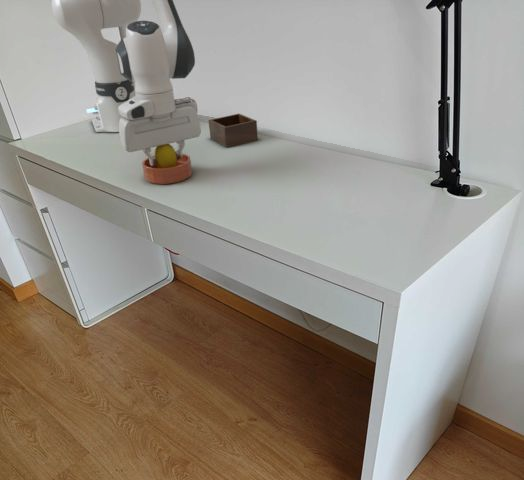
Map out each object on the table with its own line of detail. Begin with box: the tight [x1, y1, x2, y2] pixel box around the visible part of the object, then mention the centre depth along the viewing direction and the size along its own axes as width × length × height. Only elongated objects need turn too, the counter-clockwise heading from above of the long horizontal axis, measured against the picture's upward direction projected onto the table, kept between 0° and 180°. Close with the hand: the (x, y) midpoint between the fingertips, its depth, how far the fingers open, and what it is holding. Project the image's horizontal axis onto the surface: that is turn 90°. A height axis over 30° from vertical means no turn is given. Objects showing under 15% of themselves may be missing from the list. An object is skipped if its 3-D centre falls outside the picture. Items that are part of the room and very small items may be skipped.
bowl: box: [141, 153, 193, 185], centre depth 128 cm, size 12×12×4 cm
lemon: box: [154, 143, 177, 169], centre depth 127 cm, size 6×6×8 cm
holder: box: [208, 113, 259, 148], centre depth 149 cm, size 11×11×6 cm
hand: (166, 161), depth 127 cm, fingers closed on lemon, 5 cm apart
